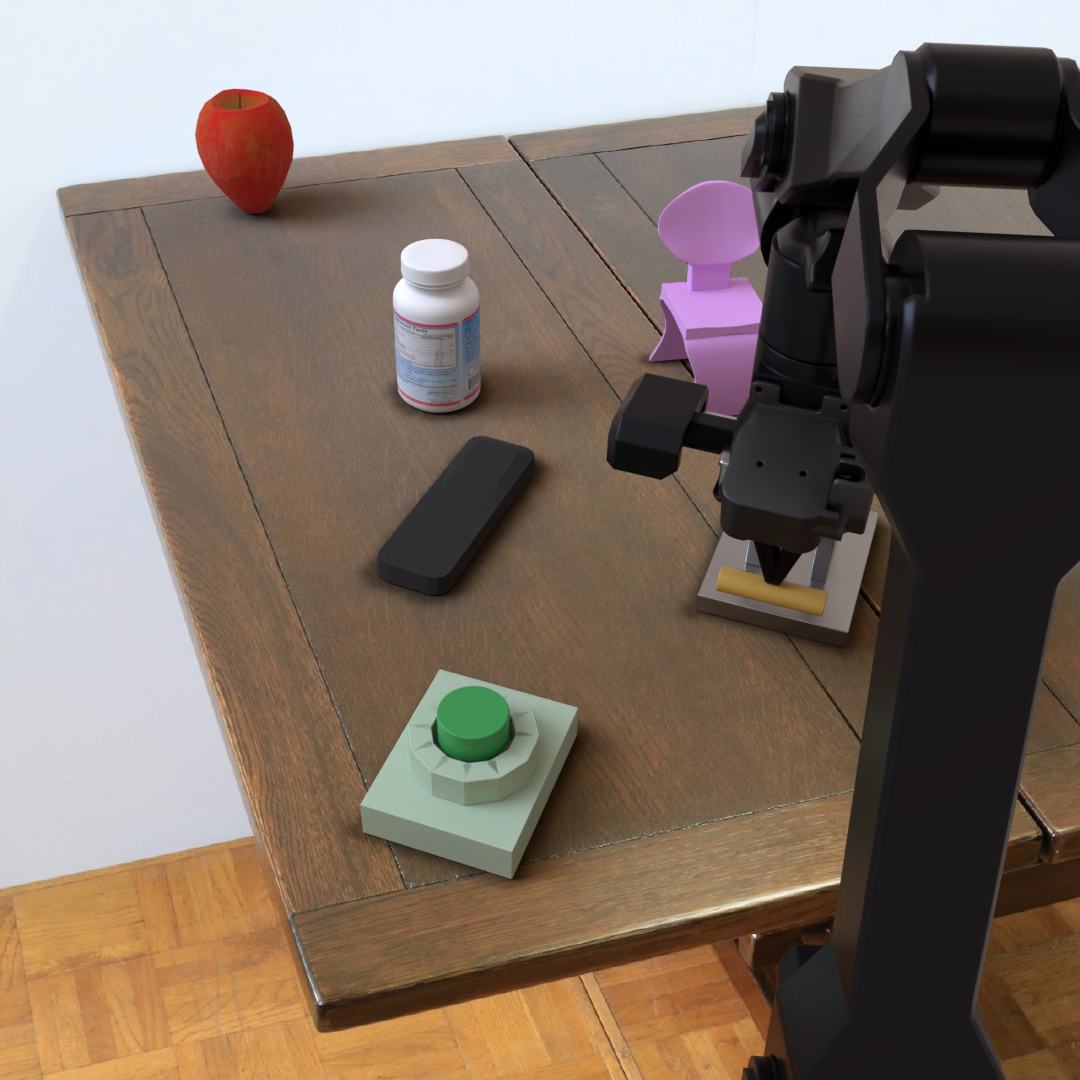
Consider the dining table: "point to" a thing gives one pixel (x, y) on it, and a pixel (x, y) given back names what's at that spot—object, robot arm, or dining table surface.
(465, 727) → the button
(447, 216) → the dining table surface
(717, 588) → the latch lever
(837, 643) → the latch bracket
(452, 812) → the push button base
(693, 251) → the toy chair
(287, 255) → the dining table surface
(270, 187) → the apple
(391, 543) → the remote control
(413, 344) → the pill bottle
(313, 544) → the dining table surface
